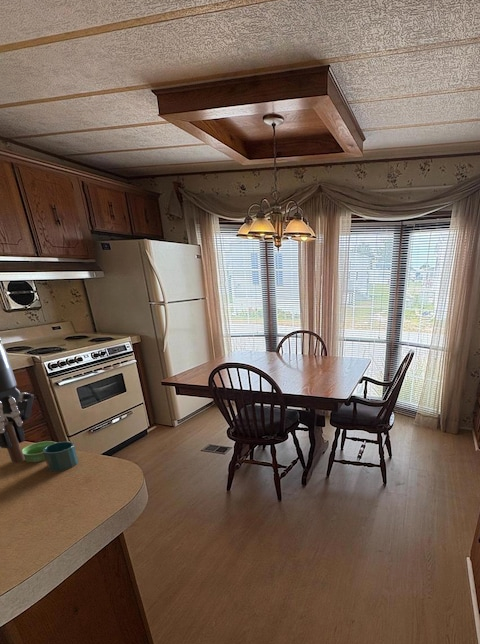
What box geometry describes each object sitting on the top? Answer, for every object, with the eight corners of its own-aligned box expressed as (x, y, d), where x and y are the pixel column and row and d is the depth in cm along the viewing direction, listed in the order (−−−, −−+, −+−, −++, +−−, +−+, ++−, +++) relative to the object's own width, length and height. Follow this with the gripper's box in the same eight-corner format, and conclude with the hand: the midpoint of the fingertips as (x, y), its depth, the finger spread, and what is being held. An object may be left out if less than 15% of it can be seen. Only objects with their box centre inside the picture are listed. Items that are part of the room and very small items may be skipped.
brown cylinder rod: (9, 462, 75) (-5, 424, 71) (19, 457, 77) (6, 420, 73) (17, 463, 74) (4, 426, 71) (27, 458, 76) (15, 422, 73)
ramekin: (30, 455, 110) (26, 443, 108) (64, 451, 113) (60, 439, 112) (20, 469, 102) (16, 456, 100) (57, 464, 106) (53, 451, 104)
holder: (43, 473, 100) (35, 451, 98) (65, 461, 107) (59, 440, 104) (64, 477, 99) (58, 454, 96) (85, 464, 106) (79, 443, 103)
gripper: (6, 357, 74) (29, 429, 81) (-74, 373, 62) (-39, 457, 68) (35, 360, 73) (56, 433, 80) (-40, 377, 60) (-8, 462, 67)
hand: (12, 444), depth 74 cm, fingers closed on brown cylinder rod, 2 cm apart
